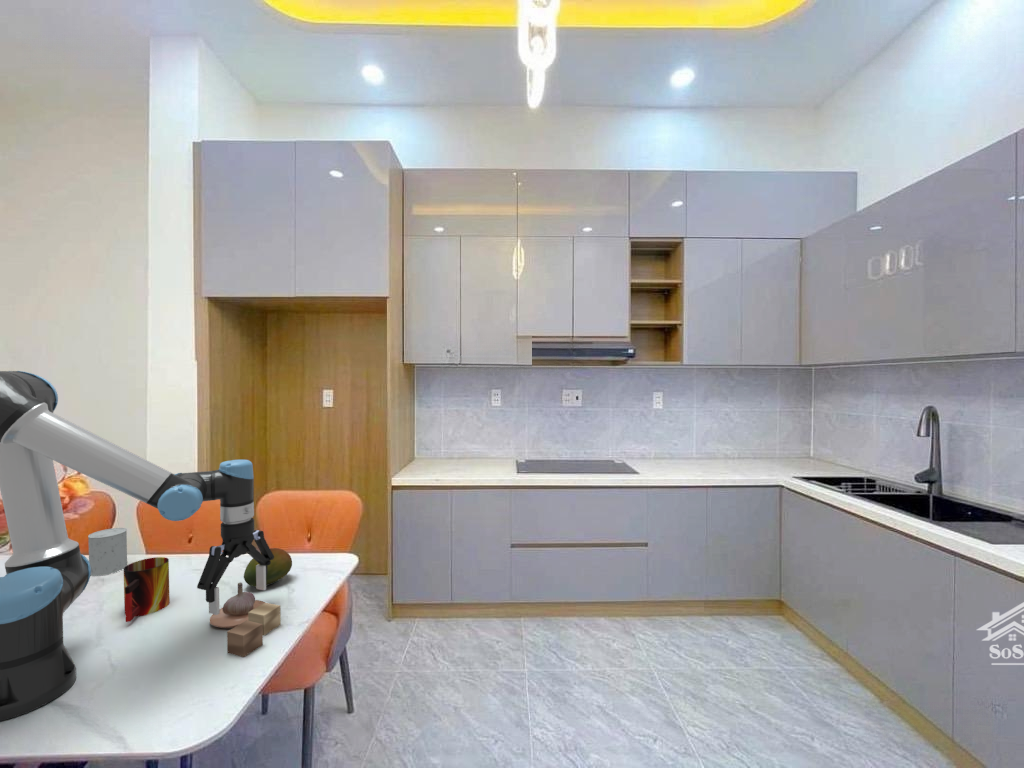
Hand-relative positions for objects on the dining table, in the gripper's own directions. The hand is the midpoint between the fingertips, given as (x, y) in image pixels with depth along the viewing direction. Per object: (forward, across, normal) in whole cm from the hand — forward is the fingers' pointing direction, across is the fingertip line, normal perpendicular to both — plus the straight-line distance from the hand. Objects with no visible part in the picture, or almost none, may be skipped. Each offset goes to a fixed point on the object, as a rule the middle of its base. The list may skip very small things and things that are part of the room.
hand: (239, 600), depth 119 cm
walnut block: (+4, -10, -14) cm, 18 cm away
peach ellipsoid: (+4, 0, 0) cm, 4 cm away
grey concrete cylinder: (+5, +8, +68) cm, 69 cm away
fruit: (+4, +17, +9) cm, 20 cm away
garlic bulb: (+3, 0, 0) cm, 3 cm away
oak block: (+4, -2, -11) cm, 12 cm away
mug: (+5, -5, +27) cm, 28 cm away
